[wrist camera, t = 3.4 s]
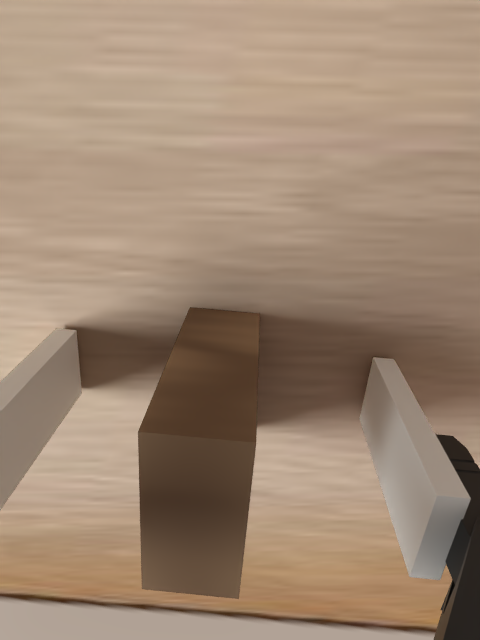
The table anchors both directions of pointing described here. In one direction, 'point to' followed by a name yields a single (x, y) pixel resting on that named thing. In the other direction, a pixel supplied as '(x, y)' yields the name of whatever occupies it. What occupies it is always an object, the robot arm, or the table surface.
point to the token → (200, 457)
